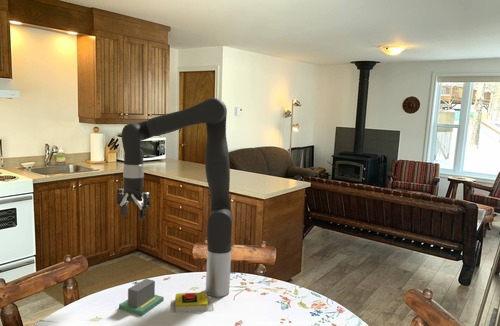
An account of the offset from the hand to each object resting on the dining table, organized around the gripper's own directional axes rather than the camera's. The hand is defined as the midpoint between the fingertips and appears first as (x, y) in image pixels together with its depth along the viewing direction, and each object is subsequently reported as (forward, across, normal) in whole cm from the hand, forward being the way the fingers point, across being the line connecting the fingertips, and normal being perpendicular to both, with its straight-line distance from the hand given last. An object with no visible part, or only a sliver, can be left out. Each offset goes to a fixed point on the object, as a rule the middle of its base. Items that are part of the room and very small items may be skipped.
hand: (132, 216), depth 145 cm
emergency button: (+29, -29, +2) cm, 41 cm away
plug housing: (+27, -13, +10) cm, 31 cm away
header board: (+28, -13, +10) cm, 33 cm away
